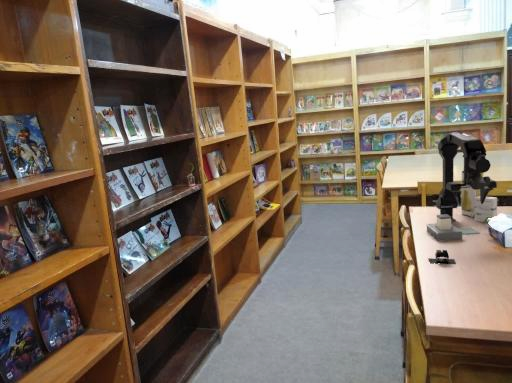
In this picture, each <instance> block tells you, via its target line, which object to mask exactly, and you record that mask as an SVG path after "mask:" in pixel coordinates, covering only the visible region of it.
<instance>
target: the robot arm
mask: <svg viewBox="0 0 512 383" xmlns="http://www.w3.org/2000/svg"><path fill="white" fill-rule="evenodd" d="M459 148H460V151H461V152H462V154H463V155H462V157H463V170H461V174H462V173H464V180H462V179H461V183H459V182H457V181H454V159H455V158H456V156H457V154H458V150H459ZM437 151H438V155H439V156H440V158H441V159H442V188H441V190H440V191H439V193H438V197H437V200H436V202H435V207H436V209H438V210H439V215H442V214H448V215H449V216H451V222H455V221H456V219H455V218H454V209H458V206H461V207H462V188H467V187H472V189H474V190H477V189H480V201H481V204H483V203H484V200H485V198H486V197H488V194H489V193H490V192H491V191H493V190H494V189H497V187H498V182H497V181H496V180H494V179H491V177H490V176H488V175H487V176H483V177H481V173H484V174H485V173H486V172H488V171H489V170H490V168H491V166H492V165H491V162H490V160H489V159H487V158H486V156H487V150H486V148H485V145H484V142H483V141H482V139H480V138H475V137H474V138H470V137H468V136H465V135H463V134H461V132H449V133H447V134H446V136H445V137H443V138H441V139H440V141H439V142H438V144H437ZM462 182H463V183H462Z"/></svg>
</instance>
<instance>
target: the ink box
mask: <svg viewBox="0 0 512 383" xmlns="http://www.w3.org/2000/svg"><path fill="white" fill-rule="evenodd" d="M494 216H497V217H498V197H494V196H486V198H485V200H484V203H483V204H481V201H480V196H478V197H475V217H474V221H475V222H484V223H487V222H486V221H487V219H488V218H492V217H494Z"/></svg>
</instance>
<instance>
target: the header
mask: <svg viewBox="0 0 512 383" xmlns="http://www.w3.org/2000/svg"><path fill="white" fill-rule="evenodd" d="M425 225H426V232H427V233H428V234H429V235H431V236H432V237H433V238H434V237H435V239H436V241H437V242H439V240H443V241H455V240H456V241H457V240H463V235H462V231H461V230H459V229H458V227H457V226H455V225H454V224H452V223H451V229H447V230H439V229H438V228H437V222H436V223H435V222H434V223H426V224H425Z"/></svg>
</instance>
